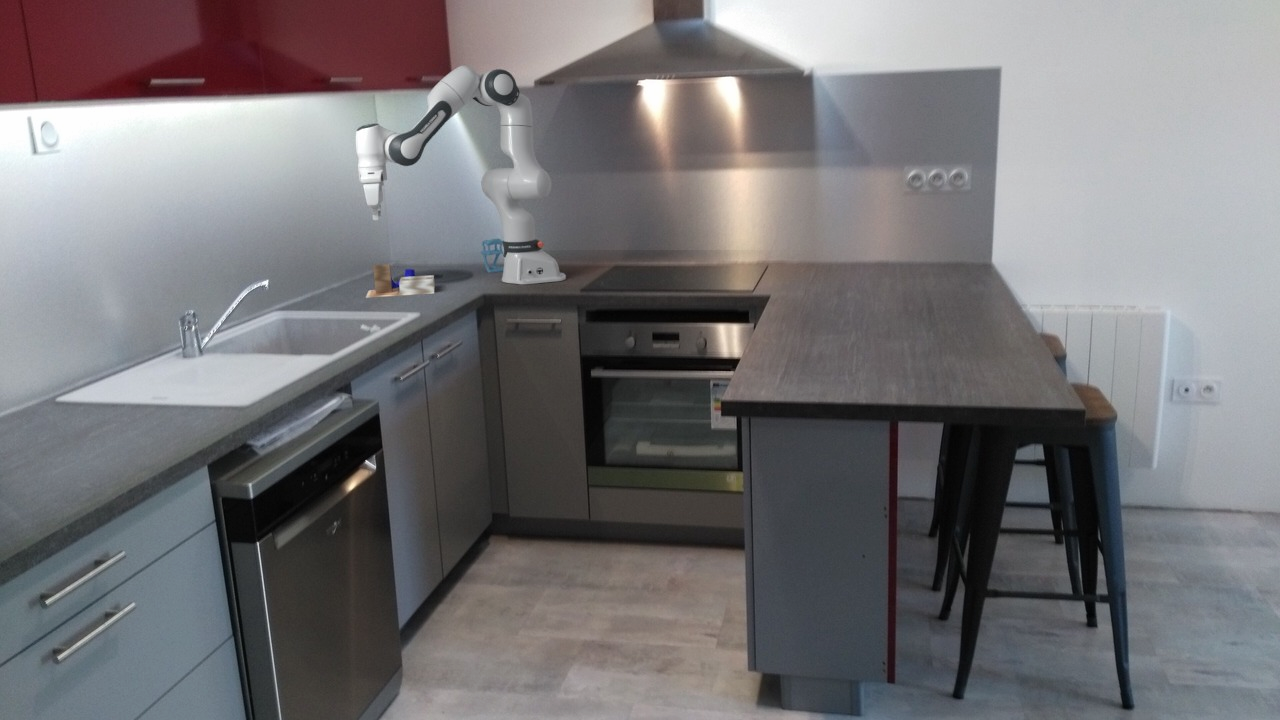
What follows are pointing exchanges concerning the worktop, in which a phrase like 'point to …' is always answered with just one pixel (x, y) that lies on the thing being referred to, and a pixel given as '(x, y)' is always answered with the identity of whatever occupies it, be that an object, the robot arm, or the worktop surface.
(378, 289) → the plug
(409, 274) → the cable clip
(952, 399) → the worktop surface
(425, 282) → the board
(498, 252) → the chair
